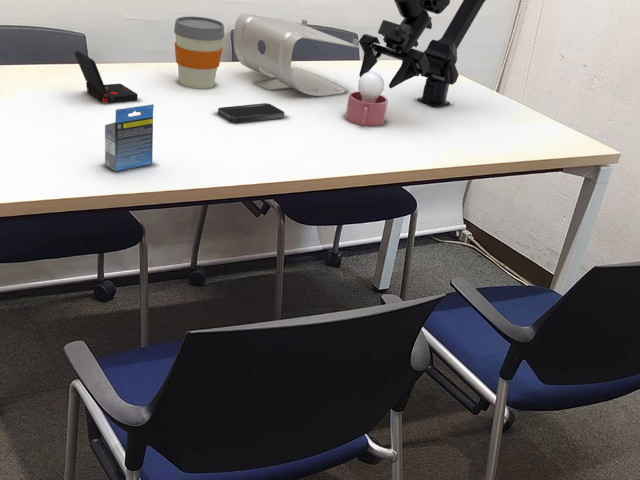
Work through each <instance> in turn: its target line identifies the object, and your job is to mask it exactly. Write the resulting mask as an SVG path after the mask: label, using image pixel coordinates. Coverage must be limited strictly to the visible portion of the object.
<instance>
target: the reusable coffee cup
mask: <svg viewBox="0 0 640 480" xmlns="http://www.w3.org/2000/svg"><path fill="white" fill-rule="evenodd" d="M173 28H174V29H173V30H174V31H173V32H174V34H175V42H174V53H175V54H174V56H175V63H176V64H177V69H178V71H177V73H178V83H179V84H180V85H181V86H184V87H188V88H191V89H200V90H201V89H202V90H203V89H210V88H213V87H214V86H215V81H216V76H217V71H218V68H219V67H220V64H221V58H222V53H223V47H222V44H223V40H224V38H225V24H224V23H223V22H222V21H219V20H217V19H214V18H209V17H203V16H180V17H177V18H176V19H175V22H174V27H173Z"/></svg>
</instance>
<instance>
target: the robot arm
mask: <svg viewBox="0 0 640 480" xmlns="http://www.w3.org/2000/svg"><path fill="white" fill-rule="evenodd" d="M393 1H394V3H395V6H396V8H397V10H398V13H399V15H400V16H401V17H402V20H401V22H400V24H399V23H397V22H393V21H389V20H386V19H383V20H382V21H381V23H380V26H379V28H378V30H377V34H379V35H381V36H382V37H383V39H382V40H383V42H384V44H385V45H383V44H381V42H380V40H379V37H377V36H375V35H371V34H368V33H365V34H364V33H363V34H362V35H361V37H360V39H358V40H359V45H360V48H361V49H362V51H363V58H362V62H361V67H360V70H359V79H360V78H361V76H362V75H363V74H365V73H366V72H370V71H371V70H372V69H373V67H374V66H375V65H376V64H377V63H378V62H379V60H378V59H380V58H381V56H382V55H384V56H386V57H390V58H393V59H396V60H398V61H401V65H400V67H399V68H398V70H397V71H396V72H395V74H394V76H393V77H392V78H391V80H390V82H389V84H388V88H389V89H393V88H395V87H397V86H398V85H400V84H402V83H404V82H406V81H407V80H410V79H412V78H414V77H419V76H420V77H423V78H426V79H425V84H424V86H423V92H422V95H421V97H417V101H419V102H421V103H424V104H426V105H429V106H432V107H435V108H436V107H442V106H448V105H450V104H451V103H450V101H448V100H447V97H448V92H449V87H450V85H454V84H455V83H457V80H458V79H459V78H458V77H459V75H460V74H459V72H458V69H457V67H456V64H457V61H458V48H459V46H460V44H461V43H462V41H463V39H464V37H465V36H466V34H467V32H468V31H469V29H470V27H471V26H472V24H473V22H474V21H475V19H476V18H477V15H478V14H479V12H480V10H481V8H482V7H483V5H484V3H485V1H487V0H462V1H461V3H460V6H459V7H458V9H457V10H456V12H455V14H454V15H453V17H452V19H451V20H450V23H449V24H448V26H447V28H446V29H445V31H444V33H443V34H442V36H441V37H440V38H439V39H438V40H436V39H431V40H430V41H429V43H428V45H427V47H426V49H425V50H424V51H422V50H419V49H415V48H417V47H418V45H419V43H418V40H419V39H420V37H421V36H422V35H423V33H424V31H425V30H426V29H428V30H432V28H433V23H432V19H433V18H432V17H431V16H430V14H429V13H432V14H435V15H440V14H442V13H443V12H444V11H445V9H447V7H448V6H449V5H450V4H451V0H393ZM413 47H414V48H413Z"/></svg>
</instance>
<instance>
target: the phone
mask: <svg viewBox="0 0 640 480" xmlns="http://www.w3.org/2000/svg"><path fill="white" fill-rule="evenodd" d="M217 115H218V116H221V117H223V118H224V119H225V120H227V121H229V122H231V123H233V124H238V123H239V124H240V123H249V122H257V121H258V122H259V121H266V120H276V119H283V118H285V111H284V110H282V109H280V108H278V107H277V106H275V105H273V104H272V103H271V104H270V103H268V102H267V103H265V102H264V103H255V104H254V103H253V104H245V105H244V104H243V105H234V106H223V107H218V108H217Z"/></svg>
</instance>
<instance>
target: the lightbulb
mask: <svg viewBox="0 0 640 480" xmlns="http://www.w3.org/2000/svg"><path fill="white" fill-rule="evenodd" d="M357 88H358V91H359V92H360V94H361V97H362V101H363V102H368V103H375V102H376V99H377V98H378V97H379V96H380V95H382V93H383V92H384V89H385V80H384V78H383V76H382V75H381V74H380V73H378V72H376V71H373V70H369V72H366V73H365V74H363V75H362V76H361V78H360V77H359V80H358V82H357Z"/></svg>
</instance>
